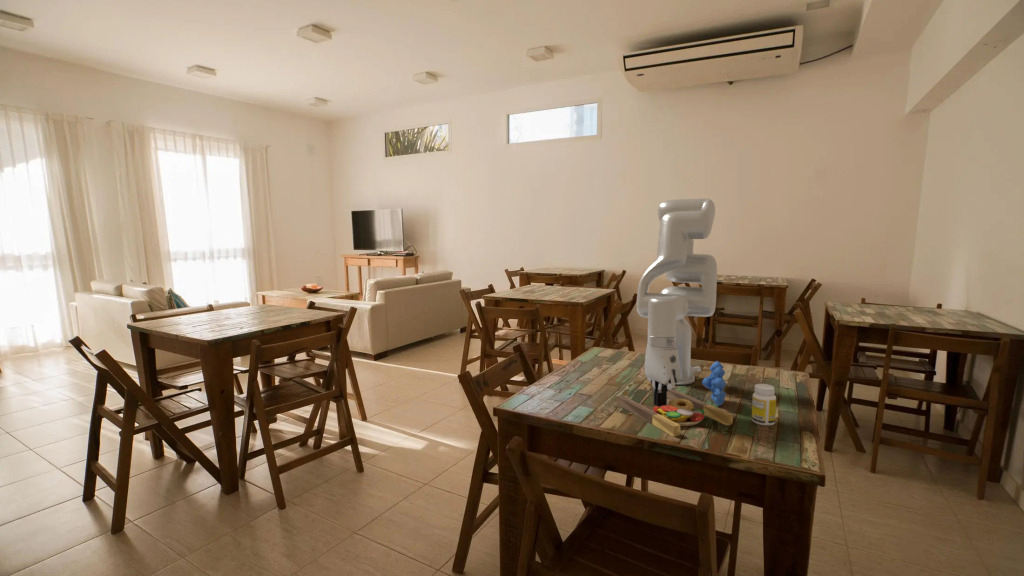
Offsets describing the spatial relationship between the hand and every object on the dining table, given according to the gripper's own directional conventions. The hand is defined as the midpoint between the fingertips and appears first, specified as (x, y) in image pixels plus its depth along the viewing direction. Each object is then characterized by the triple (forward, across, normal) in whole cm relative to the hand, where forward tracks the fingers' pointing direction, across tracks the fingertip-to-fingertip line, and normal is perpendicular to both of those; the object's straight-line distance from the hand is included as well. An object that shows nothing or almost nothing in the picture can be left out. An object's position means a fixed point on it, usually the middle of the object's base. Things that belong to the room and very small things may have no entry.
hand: (660, 404), depth 133 cm
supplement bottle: (+1, -18, -18) cm, 26 cm away
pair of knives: (+1, -5, 0) cm, 5 cm away
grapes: (+1, -2, -17) cm, 17 cm away
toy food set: (+2, -8, 0) cm, 8 cm away
